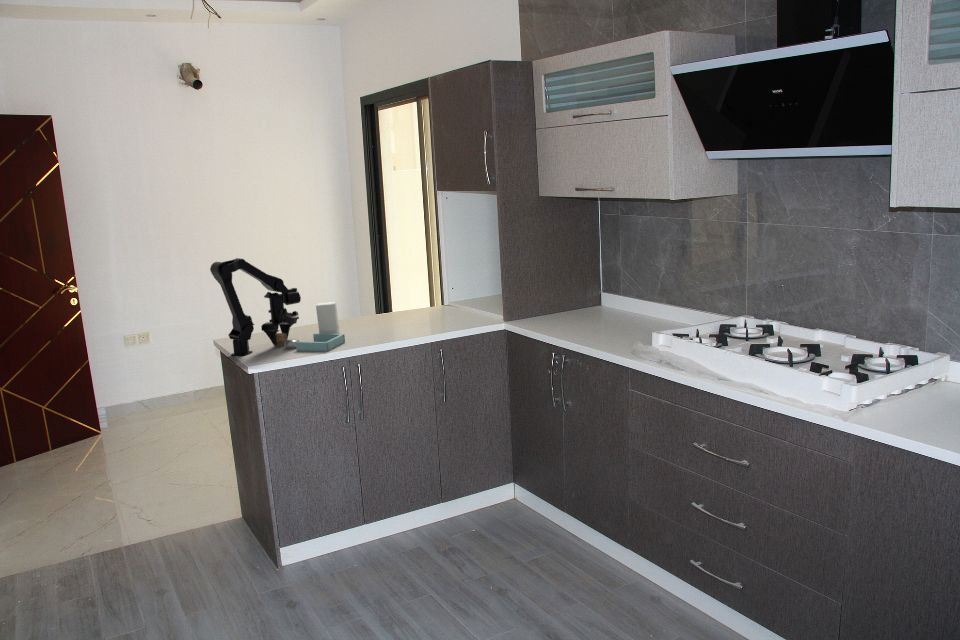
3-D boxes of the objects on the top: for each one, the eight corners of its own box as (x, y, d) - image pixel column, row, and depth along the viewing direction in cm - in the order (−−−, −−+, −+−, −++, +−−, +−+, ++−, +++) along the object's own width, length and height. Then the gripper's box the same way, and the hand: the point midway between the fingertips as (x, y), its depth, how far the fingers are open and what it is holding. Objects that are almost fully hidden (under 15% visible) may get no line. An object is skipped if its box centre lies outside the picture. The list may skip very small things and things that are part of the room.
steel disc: (295, 349, 333) (294, 342, 332) (282, 349, 335) (281, 342, 334) (301, 346, 339) (301, 339, 338) (289, 346, 340) (288, 339, 340)
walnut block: (282, 346, 339) (281, 335, 338) (274, 346, 340) (273, 335, 339) (287, 344, 343) (286, 333, 342) (279, 344, 344) (278, 333, 343)
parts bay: (327, 351, 326) (326, 342, 326) (296, 350, 330) (295, 342, 330) (345, 342, 342) (344, 334, 341) (315, 341, 346) (314, 333, 345)
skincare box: (340, 335, 356) (337, 301, 353) (338, 338, 349) (335, 303, 346) (321, 336, 355) (318, 302, 352) (318, 339, 349) (315, 304, 346)
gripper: (282, 311, 327) (286, 348, 330) (304, 303, 345) (307, 338, 348) (258, 311, 330) (262, 347, 333) (281, 303, 348) (285, 337, 351)
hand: (280, 342), depth 341 cm, fingers open, 9 cm apart
